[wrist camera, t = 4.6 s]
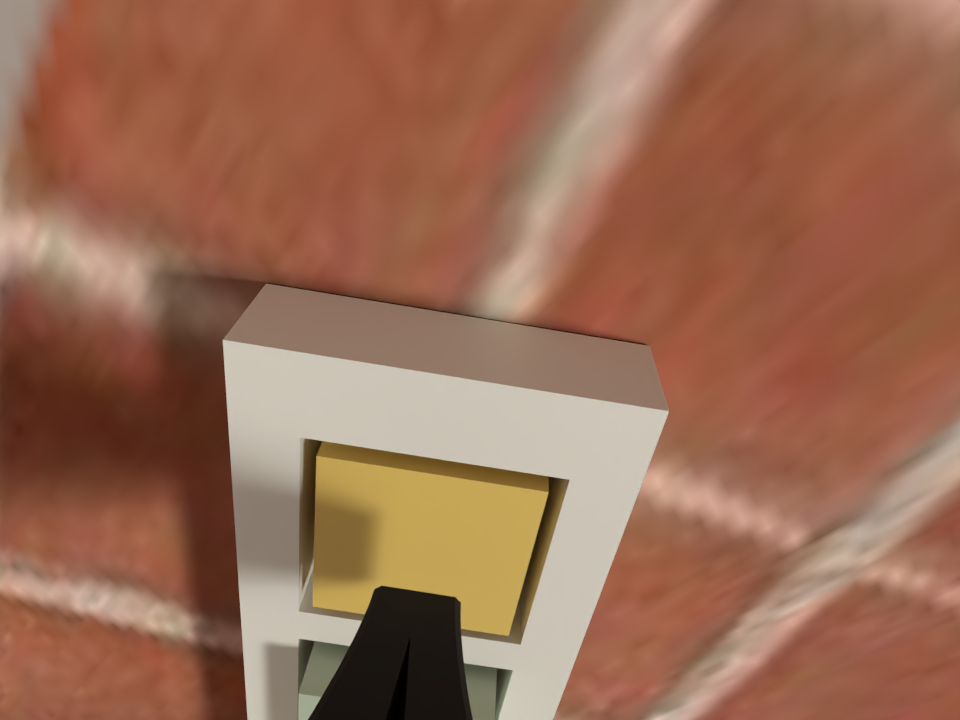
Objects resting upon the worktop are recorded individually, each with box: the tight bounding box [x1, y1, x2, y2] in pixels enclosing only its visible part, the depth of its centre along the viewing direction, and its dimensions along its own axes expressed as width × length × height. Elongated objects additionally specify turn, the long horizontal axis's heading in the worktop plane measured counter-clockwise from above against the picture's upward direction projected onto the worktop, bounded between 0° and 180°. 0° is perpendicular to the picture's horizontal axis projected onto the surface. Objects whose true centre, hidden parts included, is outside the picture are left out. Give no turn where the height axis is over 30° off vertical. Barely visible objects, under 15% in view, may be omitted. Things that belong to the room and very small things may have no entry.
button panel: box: [223, 284, 669, 720], centre depth 16 cm, size 19×7×2 cm, turn 171°
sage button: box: [298, 641, 497, 720], centre depth 15 cm, size 4×4×2 cm
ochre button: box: [313, 441, 549, 636], centre depth 13 cm, size 4×4×2 cm
